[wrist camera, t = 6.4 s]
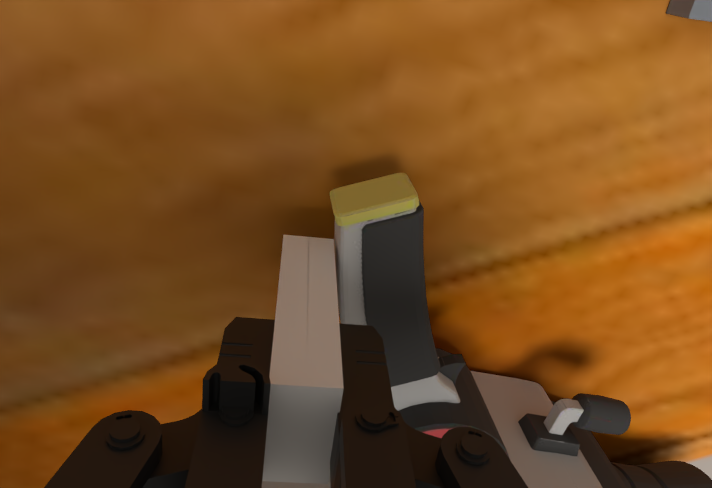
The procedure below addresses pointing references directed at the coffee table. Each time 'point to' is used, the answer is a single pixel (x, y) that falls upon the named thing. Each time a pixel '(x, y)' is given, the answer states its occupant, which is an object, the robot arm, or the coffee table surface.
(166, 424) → the robot arm
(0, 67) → the coffee table surface
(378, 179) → the film camera
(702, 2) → the mount
